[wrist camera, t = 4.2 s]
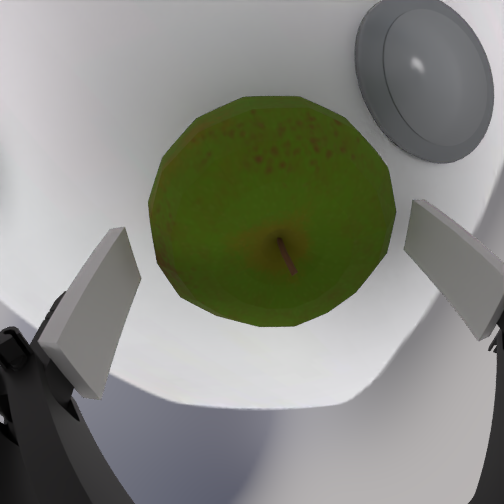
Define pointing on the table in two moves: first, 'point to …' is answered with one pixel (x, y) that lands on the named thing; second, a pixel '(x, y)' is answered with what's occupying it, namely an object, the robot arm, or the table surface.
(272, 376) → the table surface
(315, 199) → the apple
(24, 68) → the table surface
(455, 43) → the slate plate
